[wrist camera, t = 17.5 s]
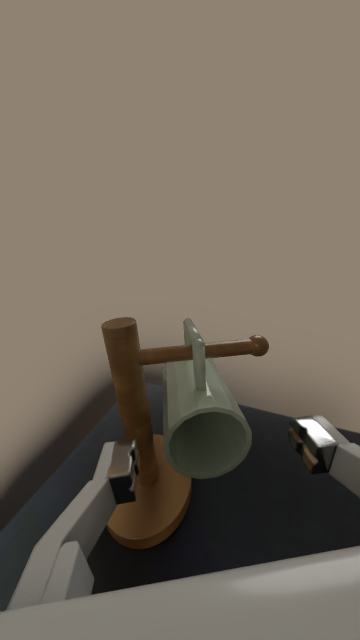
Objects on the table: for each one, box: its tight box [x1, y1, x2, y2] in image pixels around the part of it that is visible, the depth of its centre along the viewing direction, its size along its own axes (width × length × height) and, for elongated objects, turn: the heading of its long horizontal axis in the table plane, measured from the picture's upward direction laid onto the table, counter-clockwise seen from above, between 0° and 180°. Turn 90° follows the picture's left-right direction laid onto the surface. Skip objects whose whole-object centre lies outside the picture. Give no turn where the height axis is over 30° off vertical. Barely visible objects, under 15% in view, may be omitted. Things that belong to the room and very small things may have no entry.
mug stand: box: [101, 317, 269, 549], centre depth 16 cm, size 16×9×18 cm, turn 95°
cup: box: [163, 318, 252, 479], centre depth 18 cm, size 10×6×11 cm
